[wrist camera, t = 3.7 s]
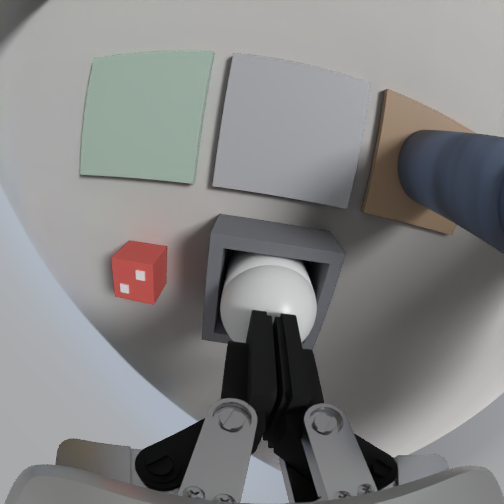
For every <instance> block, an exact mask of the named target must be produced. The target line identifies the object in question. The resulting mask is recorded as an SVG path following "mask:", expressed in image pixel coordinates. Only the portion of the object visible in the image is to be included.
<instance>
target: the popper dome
mask: <svg viewBox="0 0 504 504" xmlns="http://www.w3.org/2000/svg"><path fill="white" fill-rule="evenodd" d="M252 310H259V311H266V312H267V315H268V316H272V325H273V323H274V319H275V317H276V316H277V317H280V315H281V313H283V314H292V315H296V318H297V323H298V328H299V333H300V338H301V343H302V342H303V341H304V340H305V338H306V337H307V336H308V335H309V333H310V331H311V329H312V327H313V325H314V322H315V318H316V313H317V302H316V297H315V293H314V290H313V287H312V284H311V281H310V278H309V275H308V272H307V269H306V267H305V264H304V261H303V260H300V259H293V258H286V257H279V256H273V255H266V254H259V253H253V252H246V251H239V250H238V251H237V252H236V253H235V254H234V256H233V257H232V259H231V260H230V262H229V265H228V269H227V274H226V278H225V283H224V288H223V293H222V297H221V304H220V312H221V319H222V323H223V325H224V328H225V330H226V332H227V333H228V335H229V336H230V338H231V339H232V340H233V341H235V342H242V343H246V338H247V333H248V328H249V323H250V317H251V312H252Z"/></svg>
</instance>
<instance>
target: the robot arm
mask: <svg viewBox="0 0 504 504" xmlns="http://www.w3.org/2000/svg"><path fill="white" fill-rule="evenodd" d="M262 436H263V440H267V441H268V448H274V453H275V454H276V455H278V456H279V458H280V466H281V470H282V474H283V478H284V483H285V487H286V491H287V495H288V499H289V503H288V504H504V496H503V494H502V491H501V489H500V486H499V484H498V482H497V480H496V478H495V476H494V475H493V473H492V472H490V470H488V469H486V468H484V467H479V466H460V467H455V468H452V469H449V468H448V464H447V461H446V460H445V458H444V457H442V456H440V455H437V454H431V455H398V456H396V457H395V458H393V457H391V456H390V455H389V454H387V453H385V452H384V451H382V450H380V449H379V448H377V447H375V446H374V445H372V444H370V443H369V442H367V441H365V440H364V439H362V438H361V437H359V436H357V435H356V434H354V433H353V431H352V428H351V426H350V424H349V421H348V419H347V417H346V415H345V414H344V412H343V411H342V410H340V409H339V408H338V407H336V406H334V405H331V404H327V403H324V400H323V395H322V390H321V386H320V381H319V376H318V372H317V367H316V363H315V359H314V354H313V351H312V350H311V349H303V348H302V343H301V338H300V333H299V328H298V323H297V318H296V315H292V314H283V313H281V315H280V317H277V316H276V317H275V319H274V323H273V325H272V316H268V315H267V312H266V311H259V310H252V312H251V317H250V323H249V328H248V333H247V338H246V343H242V342H235V341H228V346H227V353H226V360H225V368H224V376H223V384H222V393H221V400H219V401H216V402H215V403H214V404H212V405H211V407H210V408H209V410H208V412H207V415H206V418H204V419H202V420H201V421H199V422H197V423H195V424H193V425H191V426H189V427H188V428H186V429H184V430H182V431H180V432H178V433H176V434H174V435H172V436H170V437H168V438H166V439H164V440H162V441H160V442H157V443H155V444H153V445H151V446H149V447H146V448H145V449H143V450H141V449H131V448H130V447H129V446H119V445H110V444H104V443H97V442H91V441H85V440H80V439H68V440H65V441H63V442H62V443H61V444H60V445H59V448H58V450H57V457H56V465H48V464H47V465H34V466H31V467H28V468H27V469H25V470H24V471H23V472H22V473H21V474H20V475H19V476H18V478H17V479H16V481H15V482H14V484H13V486H12V488H11V490H10V492H9V494H8V496H7V499H6V501H5V504H248V503H240V501H241V497H242V492H243V487H244V484H245V479H246V474H247V470H248V465H249V461H250V456H251V454H253V453H254V452H255V451H256V449H257V447H258V445H259V442H260V440H261V438H262Z"/></svg>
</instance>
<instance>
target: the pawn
mask: <svg viewBox="0 0 504 504" xmlns="http://www.w3.org/2000/svg"><path fill="white" fill-rule="evenodd" d="M398 176H399V180H400V183H401V186H402V188H403V190H404V191H405V193H406V194H407V195H408V196H409V197H410V198H411V199H412V200H413V201H415V202H416V203H418V204H420V205H422V206H424V207H426V208H428V209H430V210H432V211H434V212H436V213H437V214H439V215H441V216H443V217H445V218H447V219H448V220H450V221H452V222H454V223H455V224H457V225H459V226H460V227H462V228H464V229H466V230H467V231H469V232H470V233H472V234H474V235H475V236H477V237H479V238H480V239H482V240H483V241H485V242H486V243H488V244H489V245H491V246H492V247H494V248H495V249H497V250H498V251H500V252H502V253H504V138H503V137H497V136H490V135H483V134H475V133H466V132H455V131H441V130H419V131H416V132H414V133H412V134H411V135H410V136H409V137H408V138H407V139H406V140H405V142H404V143H403V145H402V147H401V150H400V152H399V156H398Z"/></svg>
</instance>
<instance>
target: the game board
mask: <svg viewBox="0 0 504 504" xmlns="http://www.w3.org/2000/svg"><path fill="white" fill-rule="evenodd" d="M214 54H215V53H214V52H213V51H152V52H138V53H128V54H119V55H112V56H105V57H98V58H94V60H93V65H92V70H91V75H90V80H89V86H88V91H87V98H86V105H85V112H84V121H83V131H82V144H81V162H80V175H97V176H114V177H128V178H140V179H152V180H162V181H172V182H181V183H190V184H194V183H195V176H196V167H197V159H198V151H199V144H200V136H201V129H202V122H203V116H204V109H205V103H206V97H207V91H208V86H209V80H210V74H211V69H212V64H213V59H214ZM370 86H371V83H370V82H367V81H364V80H361V79H358V78H355V77H352V76H349V75H346V74H342V73H339V72H335V71H332V70H328V69H324V68H320V67H316V66H312V65H308V64H303V63H298V62H294V61H288V60H283V59H277V58H271V57H265V56H258V55H250V54H241V53H233V58H232V64H231V69H230V74H229V80H228V85H227V91H226V97H225V103H224V109H223V115H222V122H221V128H220V135H219V142H218V149H217V156H216V163H215V171H214V178H213V186H214V187H222V188H229V189H236V190H243V191H250V192H256V193H263V194H269V195H275V196H281V197H287V198H292V199H298V200H303V201H309V202H314V203H319V204H324V205H329V206H334V207H339V208H344V209H347V207H348V203H349V199H350V195H351V191H352V186H353V182H354V177H355V173H356V168H357V163H358V158H359V153H360V148H361V143H362V137H363V132H364V126H365V120H366V114H367V108H368V101H369V94H370ZM419 130H441V131H455V132H466V133H475V132H473V131H471V130H470V129H468V128H466V127H465V126H463V125H461V124H460V123H458V122H456V121H454V120H453V119H451V118H449V117H447V116H445V115H443V114H442V113H440V112H438V111H436V110H434V109H432V108H430V107H428V106H426V105H424V104H421V103H419V102H417V101H415V100H413V99H411V98H408V97H406V96H404V95H401V94H399V93H397V92H394V91H392V90H389V89H386V90H384V98H383V105H382V112H381V118H380V125H379V130H378V136H377V142H376V147H375V152H374V157H373V162H372V167H371V171H370V176H369V180H368V185H367V189H366V193H365V197H364V202H363V205H362V209H361V211H362V212H363V213H367V214H371V215H376V216H380V217H384V218H388V219H392V220H396V221H400V222H404V223H408V224H412V225H416V226H420V227H424V228H427V229H431V230H435V231H438V232H442V233H445V234H449V235H453V232H454V229H455V226H456V224H455V223H454V222H452V221H450V220H448V219H447V218H445V217H443V216H441V215H439V214H437V213H436V212H434V211H432V210H430V209H428V208H426V207H424V206H422V205H420V204H418V203H416V202H415V201H413V200H412V199H411V198H410V197H409V196H408V195H407V194H406V193H405V191H404V190H403V188H402V186H401V183H400V180H399V176H398V156H399V152H400V150H401V147H402V145H403V143H404V142H405V140H406V139H407V138H408V137H409V136H410V135H411V134H412V133H414V132H416V131H419ZM475 134H476V133H475ZM227 249H232V250H239V251H246V252H253V253H259V254H266V255H273V256H279V257H286V258H293V259H300V260H306V261H312V262H311V265H310V269H309V273H308V275H309V278H310V281H311V284H312V287H313V290H314V293H315V297H316V302H317V313H316V318H315V322H314V325H313V327H312V329H311V331H310V333H309V335H308V336H307V337H306V338H305V340H304V341H303V342H302V348H303V349H311V350H312V349H313V347H314V344H315V342H316V339H317V337H318V334H319V331H320V329H321V326H322V323H323V321H324V318H325V315H326V312H327V310H328V307H329V304H330V301H331V298H332V295H333V292H334V289H335V286H336V283H337V280H338V277H339V274H340V271H341V268H342V264H343V261H344V258H345V255H346V254H345V252H344V251H343V249H342V248H341V246H340V245H339V244H338V242H337V241H336V239H335V238H334V237H333V235H332V234H331V233H330V232H329V231H323V230H318V229H312V228H306V227H300V226H294V225H288V224H282V223H276V222H270V221H263V220H257V219H250V218H244V217H237V216H230V215H223V214H220V215H219V217H218V219H217V221H216V223H215V225H214V227H213V229H212V232H211V236H210V245H209V256H208V266H207V277H206V289H205V302H204V315H203V330H202V340H208V341H215V342H221V343H228V341H233V340H232V339H231V338H230V336H229V335H228V333H227V332H226V330H225V328H224V325H223V323H222V319H221V312H220V304H221V301H220V299H221V291H222V282H223V274H224V266H225V258H226V250H227ZM111 259H112V272H113V282H114V291H115V296H116V297H120V298H125V299H129V300H134V301H139V302H143V303H148V304H153V305H154V304H155V302H156V300H157V299H158V297H159V295H160V293H161V291H162V290H163V288H164V286H165V284H166V273H167V246H161V245H155V244H148V243H142V242H136V241H128V242H127V243H126V244H125V245H124V246H123V247H122V248H121V249H120V250H119V251H118V252H117V253H116V254H115V255H113V256H112V257H111Z"/></svg>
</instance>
